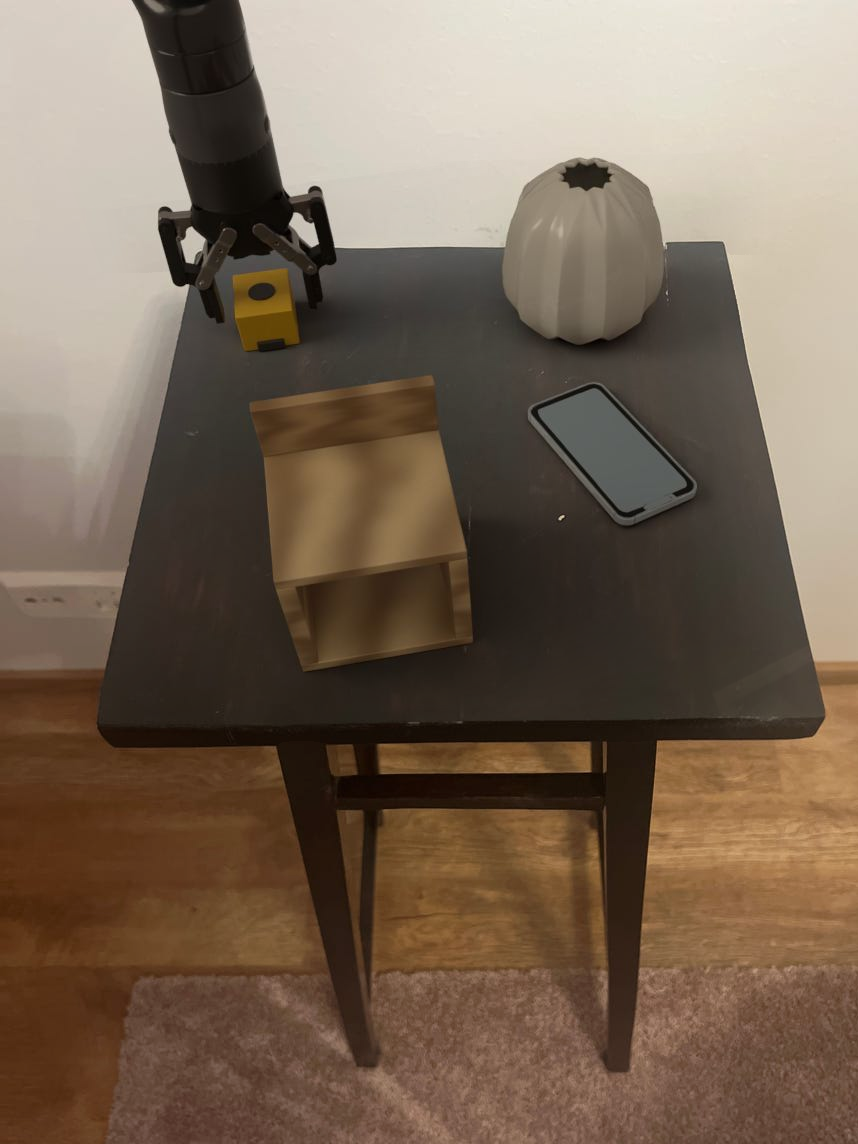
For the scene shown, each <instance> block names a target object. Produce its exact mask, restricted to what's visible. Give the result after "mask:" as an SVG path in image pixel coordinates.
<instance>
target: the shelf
mask: <svg viewBox="0 0 858 1144" xmlns="http://www.w3.org/2000/svg"><path fill="white" fill-rule="evenodd" d="M249 413H250V416H251V419H252V422H253V426H254V430H255V433H256V437H257V439H258V443H259V447H260V450H261V453H262V456H263V464H264V479H265V489H266V490H265V492H266V502H267V503H266V505H267V515H268V517H267V518H268V530H269V543H270V554H271V567H272V577H273V578H272V580H273V584H274V585H273V586H274V588H275V589H276V590H275V591H276V594H277V597H278V600H279V603H280V606H281V609H282V612H283V616H284V617H285V622H286V625H287V627H288V630H289V633H290V636H291V639H292V642H293V645H294V648H295V651H296V655H297V657H298V659H299V663H300V666H301V669H302V672H305V673H306V672H310V671H316V670H323V669H329V668H333V667H340V666H346V665H351V664H352V665H353V664H357V663H362V662H369V661H370V662H371V661H376V660H381V659H386V658H392V657H393V658H394V657H399V656H405V655H410V654H416V653H421V652H428V651H433V650H439V649H444V648H445V649H446V648H450V647H451V648H452V647H456V646H463V645H468V644H473V643H474V634H473V618H472V604H471V592H470V591H471V589H470V577H469V576H470V575H469V562H468V561H469V560H468V549H467V546H466V541H465V536H464V532H463V528H462V523H461V520H460V515H459V511H458V506H457V502H456V497H455V495H454V490H453V486H452V480H451V476H450V473H449V468H448V463H447V459H446V457H445V455H446V454H445V450H444V447H443V441H442V438H441V433H440V430H439V429H440V428H439V417H438V406H437V395H436V384H435V380H434V376H433V375H432V374H430V375H423V376H414V377H410V378H402V379H395V380H390V381H384V382H376V383H369V384H362V385H356V386H350V387H342V388H336V389H335V388H334V389H328V390H322V391H315V392H310V393H309V392H308V393H303V394H302V393H301V394H295V395H289V396H283V397H276V398H269V399H263V400H255V401H250V402H249Z"/></svg>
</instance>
